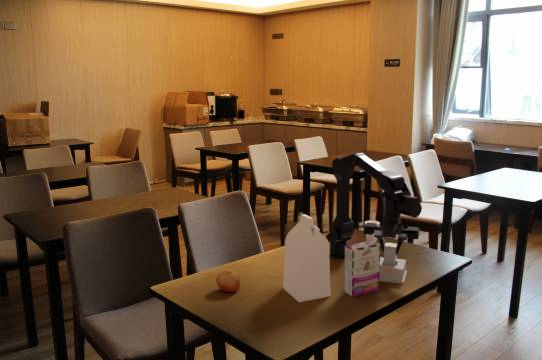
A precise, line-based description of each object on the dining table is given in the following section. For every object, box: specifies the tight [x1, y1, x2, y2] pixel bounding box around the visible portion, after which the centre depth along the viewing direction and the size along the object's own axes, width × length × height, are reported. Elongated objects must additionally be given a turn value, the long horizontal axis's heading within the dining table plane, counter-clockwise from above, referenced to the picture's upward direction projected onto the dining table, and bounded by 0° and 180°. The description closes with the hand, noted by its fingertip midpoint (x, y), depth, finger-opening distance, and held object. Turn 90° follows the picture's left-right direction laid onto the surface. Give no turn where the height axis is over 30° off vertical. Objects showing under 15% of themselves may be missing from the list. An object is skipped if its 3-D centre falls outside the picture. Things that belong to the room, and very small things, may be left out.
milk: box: [282, 213, 332, 303], centre depth 170 cm, size 12×12×26 cm
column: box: [383, 242, 398, 266], centre depth 184 cm, size 4×4×10 cm
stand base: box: [379, 256, 408, 285], centre depth 185 cm, size 11×11×5 cm
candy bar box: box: [344, 240, 381, 298], centre depth 171 cm, size 11×5×16 cm, turn 117°
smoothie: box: [364, 212, 381, 243], centre depth 218 cm, size 6×6×14 cm
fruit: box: [215, 268, 241, 293], centre depth 174 cm, size 8×8×8 cm
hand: (390, 254), depth 184 cm, fingers closed on column, 4 cm apart
